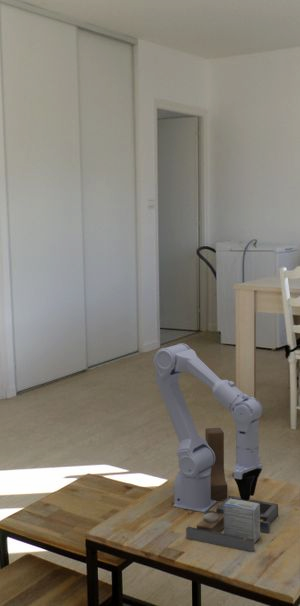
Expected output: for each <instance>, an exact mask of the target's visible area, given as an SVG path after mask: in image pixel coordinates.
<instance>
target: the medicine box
mask: <svg viewBox="0 0 300 606" xmlns="http://www.w3.org/2000/svg"><path fill="white" fill-rule="evenodd" d="M223 534H228V535H233V536H238V537H243V538H245V537H248V539H253V540H254V544H256V542H257V541H258V540H259V538H260V537H261V532H260V504H259V503H254V502H249V501H243V500H236V499H229V500H228V501H227V502H226V503H225V504H224V528H223Z"/></svg>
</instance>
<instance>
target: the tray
mask: <svg viewBox="0 0 300 606" xmlns="http://www.w3.org/2000/svg"><path fill="white" fill-rule="evenodd" d="M229 499H236V500H242V499H241V498H240V496H239V497H238V496H235V495H228V496H227V499H226V500H223V501H222V502H221V503H220V504H219V505H218V506H217V507H216V509H215V510H216V511H215V512H219V513H224V504H225V503H226V502H227V501H228V500H229ZM243 501H249V502H254V503H259V504H260V520H261V519H262V520H263V521H268V522H270V525H271V524H272V523H273V522H274V520H275V519H277V517H278V516H279V503H274V502H268V501H264V500H263V501H262V500H257V499H251V498H250V499H249V500H243Z"/></svg>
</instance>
